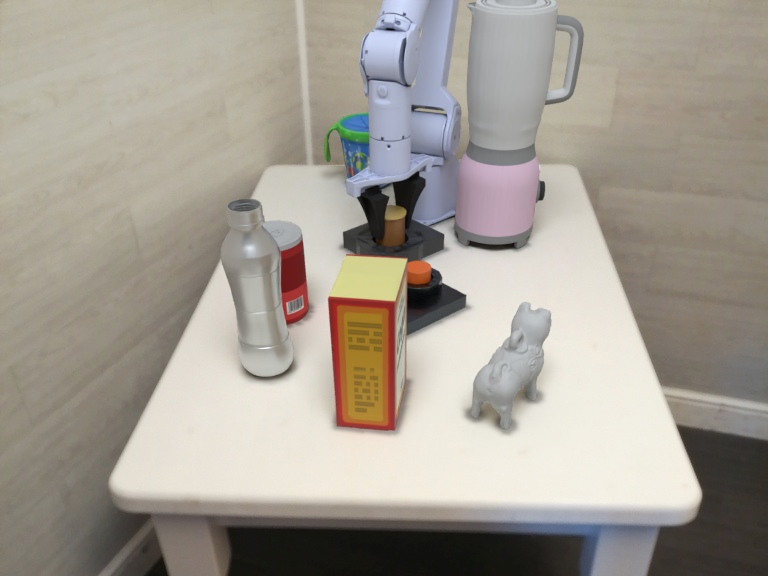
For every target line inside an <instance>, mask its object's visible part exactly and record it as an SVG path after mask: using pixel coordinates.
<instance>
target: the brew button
mask: <svg viewBox="0 0 768 576" xmlns="http://www.w3.org/2000/svg"><path fill="white" fill-rule="evenodd" d="M431 267H432V265H431V264H430V262H429V263H428V262H427V261H423V260H421V261H412V262H409V263H408V268H407V282H408V283H412V284H425V283H428V282H430V280H431Z"/></svg>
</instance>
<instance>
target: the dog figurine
mask: <svg viewBox="0 0 768 576" xmlns="http://www.w3.org/2000/svg"><path fill="white" fill-rule="evenodd" d="M531 305H532V304H531V302H528V301H523V302H521V303H520V304H519V306H518V307H517V310H516V313H515V314H514V316H513V318H512V320H511V325H510V335H509V336H508V337H507V338H505V340H503V342H502V344H501V346H498V348H497V349H496V350H495V352H493V354H492V355H491V358H490V360H489V361H488V363H487V364H485V365H484V366H482V368H480V369H479V371H478V372H477V374H476V375H475V377H474V379H473V382H472V398H471V412H470V417H472V418H474V419H478V418H479V417H480V414H481V409H482V407H483V405H484V403H485V402H487V404H489V405H490V406H491V407H492V408H493V409H494V410H495V411H496V412H497V413H498V414H499V415H500V421H499V423H498V425H499V427H500V428H501V429H503V430H509V429H510V428H511V427H512V422H511V421H512V419H511V417H512V411H513V406H514V402H515V400H516V398H517V396H518V393H519V392H520V390H521V389H522V388H524V391H525V397H526V398H527V399H529V400H532V401H535V400H536V399H537V398H538V392H537V381H538V378H539V375H540V374H541V372H542V370H543V367H544V364H545V353H544V351H545V350H544V348H543V346H544V343H545V341H546V339H548V337H549V335H550V332H551V327H552V312H551V310H549V309H546V308H544V307H538V308H537V309H532V308H531Z"/></svg>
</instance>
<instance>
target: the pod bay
mask: <svg viewBox="0 0 768 576" xmlns="http://www.w3.org/2000/svg"><path fill="white" fill-rule="evenodd" d="M342 244H343V245H342V246H343V248H344V249H346V250H348V251H350V252H352V253H353V254H355V255H371V256H387V257H404V258H408V263H409V262H412V261H423V259H424V258H427V257H429V256H431V255H434V254H437V253H438V252H441V251H443V250H444V249H445V233H444V232H441V231H438V230H437V229H435V228H432V227H430V226H426V225H424V224H422V223H419V222H417V221H415V220H413V219H411V223H410V227H409V229H407V230H406V229H405V242H404V244H402V245H398V246H383V245H378V244H377V243H376V238H374V237H372V236H371V233H370V229H369V225H368V222H366V223H363V224H360V225H358V226H354V227H353V228H352V227H351V228H350V229H347V230H344V231H342Z"/></svg>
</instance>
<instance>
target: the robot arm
mask: <svg viewBox="0 0 768 576" xmlns="http://www.w3.org/2000/svg"><path fill="white" fill-rule="evenodd" d="M459 5H460V0H382V1H381V4H380V8H379V11H378V15H377V19H376V21H375V25H374V28H373V29H371V31H369V33H366V34H364V36H363V38H362V41H361V45H360V50H359V60H358V63H359V64H358V65H359V71H360V72H359V73H360V76H361V79H362V81H363V93H364V96H365V97H366V98H367V99H368V100H367V102H368V103H367V104H368V105H367V106H368V107H367V108H368V113H369V149H370V161H369V162H368V167H367V168H365V169H364V170H362V171H361V172H359V173H358V174H356V175H355V176H353V177H351V178H349V179H348V178H346V179H345V191H346V194H347V195H349V196H350V197H353V198H356V199H357V201H358V203H359V204H360V206H361V209H362V210H363V214H364V216H365V219H366V221H367V222H366V223H368V225H369V229H370V233H371V236H372V237H374V238H376V239H378V240H381V239H383V237H384V228H385V212H386V207H387V205H389V201H390V196H389V195H387V194H385V193H383V190H382V189H381V188H380V186H383V185H385V186H387V185H388V184H391V185H392V189H393V194H394V202H395V205H397V206H401V207H403V208H405V209H406V216H405V229H406V230H407V229H409V227H410V223H411V219H413V220H415V221H417V222H419V223H422V224H424V225H426V226H428V227H430V226H431V225H434V224H436V223H439V222H441V221H444V220H446V219H449V218H451V217H453V216H454V217H455V216H456V198H457V182H458V171H459V166H460V162H461V161H460V160H459V158H458V157H457V155H456V154H457V152H458V150H459V146H460V142H461V136H462V114H463V113H462V112H463V111H462V106H461V104H460V102H459V101H458V99H457V98H456V97H455V96H454V95H453V94H452V93H451V92H450V90H449V89H448V82H449V75H450V68H451V61H452V55H453V47H454V41H455V33H456V27H457V20H458V11H459ZM413 83H414V85H413ZM418 109H421V110H418ZM422 109H423V110H422ZM426 110H432V111H426ZM433 111H441V112H443V113H441V112H433ZM444 112H445V113H444ZM386 184H387V185H386Z"/></svg>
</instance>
